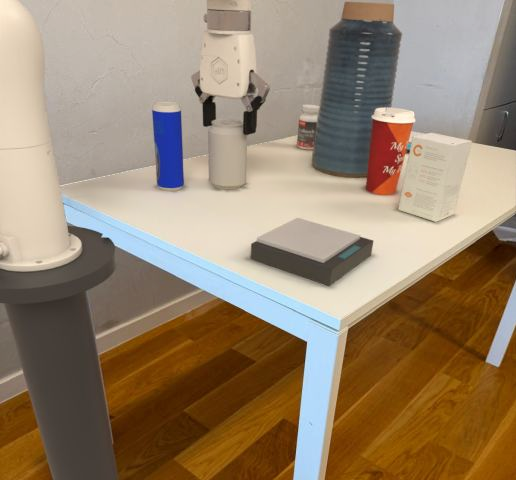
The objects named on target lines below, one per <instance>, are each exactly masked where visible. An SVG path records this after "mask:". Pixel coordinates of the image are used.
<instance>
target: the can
mask: <svg viewBox="0 0 516 480" xmlns="http://www.w3.org/2000/svg"><path fill="white" fill-rule="evenodd" d="M211 123H212V126H209V128H208V129H207V138H208V139H207V141H208V143H207V144H208V146H207V147H208V151H207V152H208V182H209V183H210V184H211V185H212V186H213V187H214V188H217V189H219V190H237V189H239V188H242V187H243V185H244V184H245V183H246V182H247V160H248V159H247V158H248V135H244V134H243V120H240V119H232V118H218V119H217V118H216V120H213V121H212V122H211Z"/></svg>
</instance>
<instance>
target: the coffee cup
mask: <svg viewBox="0 0 516 480" xmlns="http://www.w3.org/2000/svg"><path fill="white" fill-rule="evenodd" d="M372 118H373V124H372V133H371V143H370V152H369V162H368V171H367V177H366V181H365V183H366V184H365V190H366V191H367V192H369V193H371V194H375V195H380V196H390V195H393V194H395V193H396V191H397V188H398V184H399V181H400V176H401V172H402V168H403V165H404V160H405V157H406V154H407V153H406V149H407V145H408V142H410V137H411V133H412V129H413V125H414V123H415V122H416V118H415V112H414V111H413V110H410V109H406V108H399V107H391V108H377V109H376V110H375V112H374V115H372Z"/></svg>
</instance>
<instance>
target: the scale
mask: <svg viewBox="0 0 516 480" xmlns="http://www.w3.org/2000/svg"><path fill="white" fill-rule="evenodd" d="M373 246H374V240H373V239H370V238H367V237H363V236H361V234H357V233H353V232H350V231H346V230H344V229H343V230H342V229H339V228H335V227H332V226H328V225H324V224H321V223H318V222H314V221H311V220H307V219H303V218H300V217H296V218H294V219H291V220H290V221H287V222H286V223H284V224H282V225H279V226H277V227H275V228H274V229H272V230H269V231H267V232H266V233H264V234H262V235H260V236H257V237H256V241H254V242H251V245H250V260H253V261H256V262H259V263H261V264H265V265H267V266H270V267H273V268H276V269H279V270H282V271H286V272H288V273H291V274H293V275H296V276H299V277H302V278H305V279H309V280H311V281H314V282H317V283H320V284H322V285H326V286H327V287H328V286H332V285H333V284H334V283H336V282H337V281H338V280H340V279H341V278H342V277H344V276H345V275H346V274H348V273H349V272H350V271H352V270H353V269H354V268H356V267H357V266H359V265H360V264H361V263H363V262H364V261H365V260H367V259H368V258H369V257H371V256H372V253H373V252H372V251H373Z"/></svg>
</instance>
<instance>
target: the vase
mask: <svg viewBox="0 0 516 480" xmlns="http://www.w3.org/2000/svg"><path fill="white" fill-rule="evenodd" d="M394 15H395V4H394V3H385V2H384V3H383V2H364V1H344V4H343V7H342V13H341V17H340V20H339V21H338V22H336V23H335V24H334V25H333V26H331V27H330V28H329V29H328V40H327V46H326V53H325V56H326V57H325V63H324V69H323V76H322V83H321V85H322V86H321V92H320V98H319V104H318V106H319V114H318V116H317V124H316V131H315V141H314V146H313V149H314V150H312V155H311V164H312V166H313V167H314V168H315V169H316V170H317V171H319V172H321V173H324V174H327V175H330V176H335V177H343V178H367V171H368V162H369V152H370V143H371V133H372V124H373V118H372V115H374V112H375V110H376V109H377V108H393V104H392V103H393V97H394V90H395V84H396V77H397V70H398V64H399V59H400V58H399V57H400V56H399V55H400V51H401V50H400V48H401V42H402V39H403V32H402V31H401V30H400V29H399V28H398V27H397V25H396V24H395V23H394V17H395V16H394Z"/></svg>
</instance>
